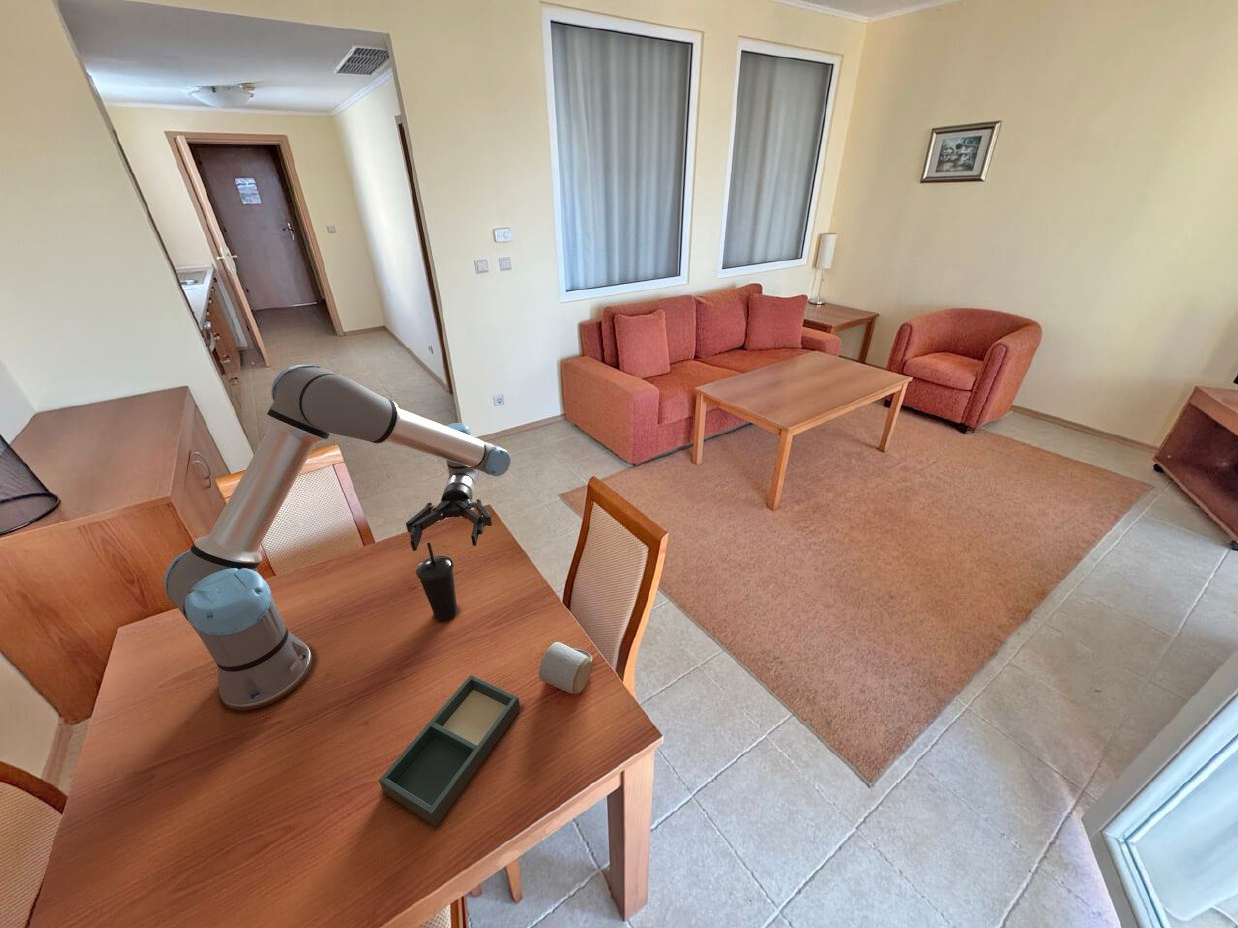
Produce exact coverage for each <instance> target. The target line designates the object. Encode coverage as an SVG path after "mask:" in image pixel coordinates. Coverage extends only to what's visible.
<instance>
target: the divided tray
mask: <svg viewBox="0 0 1238 928" xmlns="http://www.w3.org/2000/svg"><path fill="white" fill-rule="evenodd" d="M520 711H521V706H520V699H519V696H517V695H514V694H512V693H510V692H508V691H507V690H504V689H501V688H499V687H497V686H495V685H493V684H492V683H489V682H487V681H485V680H483V679H481V678H479V677H476V676H474V675H472V674H470V675H469V676H468V677H467V678H466V679H465V681H464V682H463V683H461V685H460V686H459V687H458V688H457V690H456V691H455V692H454V693H453V695H452V696H450V697H449V699H448V700H447V701H446V702H445V703H444V704H443V706H441V708H440V709H439V710H438V711H437V713H436V714H435V715H434V716H433V717H432V718H431V719H430V721H428V723H427V724H426V725H425V726H424V728H423V729H422V730H421V731H420V732H419V733H418V734H417V736H415V738H414V739H413V740H412V741H411V742H410V744H409V745H408V746H407V747H406V748H405V749H404V751H403V752H402V753H401V754H400V755H399V756H398V757H397V758H396V760H395V761H394V762H393V763H392V764H391V765H390V766H389V768H388V769H387V770H386V771H385V772H384V773H383V774H382V776H380V778H379V779H378V782H379V784H380V787H381V789H382V791H383V793H384V794H385V795H387V796H388V797H390V798H391V799H392V800H394V801H396V802H398V803H399V804H400V805H402V806H404V807H405V808H407V809H408V810H409V811H411V812H413V813H414V814H416V815H417V816H419V817H420V818H422V819H423V820H425V821H426V822H428V823H429V824H431V825H433V826H434V827H438V825H439V824H440V822H441V821H442V820H443V818H444V817H445V815H446V814H447V813H448V811H449V810H450V808H451V807H452V805H453V804H454V803H455V801H456V800H457V799H458V797H459V796H460V794H461V793H462V792H463V790H464V789H465V788H466V786H467V785H468V783H469V782H470V781H471V779H472V778H473V777H474V775H475V774H476V772H477V771H478V769H479V768H480V767H481V766H482V765H483V762H484V761H485V759H486V758H487V757H488V755H489V754H490V753H491V752H492V750H493V748H494V747H495V746H496V744H497V743H498V742H499V740H500V739H501V737H502V736H503V735H504V733H505V732H506V731H507V729H508V728H509V726H510V725H511V724H512V722H513V721H514V719H515V718H516V716H517V715H518V713H520Z"/></svg>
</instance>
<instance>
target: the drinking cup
mask: <svg viewBox="0 0 1238 928" xmlns="http://www.w3.org/2000/svg"><path fill="white" fill-rule="evenodd" d="M426 545H427V550H428V554H429V557H428V558H426V559H424V560H422V561H421V562H420V563H419V564H418V565H417V566H416V569H415V575H416V577H417V578H418V579H419V581H420V583H421V586H422V588H423V591H424V594H425V596H426V598H427V600H428V603H429V605H430V608H431V610H432V612H433V615H434V618H435V619H436V620H437V621H438V622H449V621H450V620H452V619H454V618H455V616H457V614H458V607H457V606H458V605H457V596H456V589H455V588H456V586H455V578H454V561H453V559H451V557H448V556H446V555H435V556H434V551H433V547H432V543H431V542H427V543H426Z"/></svg>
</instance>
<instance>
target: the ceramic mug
mask: <svg viewBox="0 0 1238 928" xmlns="http://www.w3.org/2000/svg"><path fill="white" fill-rule="evenodd" d="M592 668H593V656H592V654H591V653H590V652H588V651H587V650H584V649H582V648H581V649H580V648H572V647H571V646H568V645H566V644H564V643H562V642H560V641H555V642H553V643H552V644H551V645H550V646H549V647H548V648H547V650H546V651H545V653H544V655H543V657H542V658H541V661H540V666H539V669H538V670H539V671H538V678H539V680H540V681H541V682H544V683H546V684H548V685H550V686H552V687H555V688H557V689H559V690H562V691H563V692H566V693H568V694H572V695H577V694H579V693H581V692H582V691H583V690H584V689H585V687H586V685H587V684H588V682H589V679H590V676H591V673H592Z"/></svg>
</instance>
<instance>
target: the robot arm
mask: <svg viewBox="0 0 1238 928" xmlns="http://www.w3.org/2000/svg"><path fill="white" fill-rule="evenodd" d="M270 389H271V390H270V391H271V398H272V401H273V402H272V403H271V406H270V407H269V409H268V411H267V412H266V415H265V416H266V419H267V421H268V423H269V427H268V430H266V433H265V435H264V437H263V438H262V440H261V442H260V443H259V445H258V447H257V449H256V450H255V452H254V454H253V456H252V458H251V459H250V461H249V463H248V465H247V467H246V469H245V470H244V472H243V473H242V476H240V477H241V478H239V480H238V482H237V485H236V486H235V488H234V490H233V491H232V493H231V495H230V497H229V498H228V500H227V502H226V504H225V505H224V508H223V509H222V511H221V512H220V515H219V516H218V518H217V520H216V521H215V524H214V525H213V527H212V529H211V531H210V533H208V534H207V535H204V536H202V537H199V538H196V539H195V540H194V542H193V543H192V545H191V547H190V548H188V550H187V551H185V552H181V553H180V554H179V555H177V556H176V557H175V558H174V559H173V560H172V561H171V562H170V563H169V565H168V566H167V569H166V570H165V573H164V576H163V586H164V590H165V592H166V595H167V597H168V599H169V600H170V601H171V604H173V605H174V606H175V607H176V608H177V609H178V610H179V612H180V613H181V614H182V615H183V617H184V618H185V619H186V621H187V622H188V623H189V624H190V626H191V627H192V629H194V631H195V632H196V633H197V635H198V636H199V638H200V639H201V641H202V643H203V644H204V646H205V647H206V649H207V651H208V653H209V654H210V656H211V658H212V660H213V661H214V663H215V664H216V666H217V671H218V678H217V679H218V680H217V681H218V694H219V697H220V698H221V701H222V702H223V703H224V705H225V706H226V707H228V708H229V709H232V710H234V711H240V712H245V711H254V710H258V709H262V708H264V707H265V708H266V707H268V706H270V705H272V704H274V703H276V702H278V701H281V700H282V699H283V698H285V697H286V696H288V695H290V694H291V692H293V691H295V689H297V688H298V687H299V686H300V685H301V684H302V683H303V681H305V680H306V678H307V677H308V674H309V673H310V670H311V668H312V666H313V655H312V652H311V650H310V649H309V646H308V645H307V644H306V643H305V642H303V641H302V640H301V639H300V638H298V637H297V636H296V635H294V634H293V633H292V632H290V631H289V630H288V628H287V626H286V625H287V624H286V623H285V621H284V618H283V617H282V614H281V612H280V610H279V608H278V606H277V604H276V602H275V600H274V598H273V595H272V592H271V588H270V586H269V584H268V583H267V582H266V580H265V579H264V578H263V576H262V575H261V574H260V573H258V572H257V570H258V568H259V566H260V564H261V563H262V560H263V556H262V554H261V552H260V550H259V549H260V547H261V544H262V543H263V541H264V539H265V537H266V536H267V534H268V532H269V530H270V528H271V527H272V525H273V523H274V521H275V519H276V517H277V516H278V513H280V510H281V508H282V506H283V505H284V503H285V500H286V499H287V497H288V495H289V493H290V492H291V490H292V488H293V486H294V484H295V482H296V480H297V479H298V477H299V475H300V473H301V471H302V470H303V468H304V466H305V464H306V462H307V460H308V458H309V457H310V455H311V453H312V451H313V449H314V448H315V446H316V445H317V444H319V443H323V442H327V440H329V439H328V438H329V437H330V435H331V434H333V435H337V436H343V437H348V438H353V439H358V440H361V441H366V442H369V443H373V444H375V445H376V444H377V445H381V444H383V443H385V442H386V443H389V444H393V445H396V446H400V447H403V448H405V449H409V450H413V451H416V452H419V453H421V454H425V455H429V456H432V457H436V458H438V459H441V460H444V461H446V466H447V472H448V478H447V481H446V484H445V487H444V490H443V493H442V496H441V499H440V502H439V503H438V504H433V502H427V503H426V505H425V506H424V507H423V508H422V509H420V511H418V512H417V513H416V514H415V515H413V517H411V518H410V519H409V520H407V521H406V522H405V526H406V530H407V533H409V536H410V546H411V549H412V552H415V551H416V552H417V550H418V547H419V545H420V541H421V539H422V536H423V531H424V530H426V529H428V528H430V527H431V526H433V525H434V524H436V523H438V522H442V521H444V520H446V519H451V518H460V517H461V518H463V519H465V520H468V521H470V522H471V523H473V525H472V526H473V527H472V530H471V535H470V539H471V543H472V546H473V547H475V546H477V543H478V538H479V535H483V534H484V528H485V527H486V526H487V527H491V526H492V525H493V521H492V516H491V514H490V513H489V511H488V510H487V509H486V508H485V507H484V505H483V502H482V499H481V498H477V499H476V500H475V501H474V502H472V501H473V496H474V492H475V489H476V486H477V485H476V484H477V481H478V478H479V475H480V473H479V471H480V472H483V473H485V474H486V475H489V476H492V477H501V476H503V475H504V474H506V473H507V471H509V468H510V466H511V462H512V458H511V455H510V452H509V451H508V450H506V449H504V448H502V447H501V446H499V445H495V444H493V443H490V442H487V441H485V440H482V439H479V438H477V437H475V436H472V435H471V431H470V427H469V426H468V425H467V424H466V423H463V422H453V423H450V424H447V425H443V424H441V423H438V422H435V421H433V420H430V419H427V418H425V417H422V416H420V415H417V414H415V413H413V412H410V411H407V410H404V409H402V408H400V407H398V404H397V403H396V402H395V401H394V400H392V399H389V398H387V397H384V396H382V395H380V394H378V393H376V392H374V391H372V390H370V389H369V388H367V387H366V386H364V385H362V384H360V383H358V382H357V381H355V380H353V379H351V378H349V377H346V376H343V375H342V374H341V375H340V374H338V373H336V372H333V371H331V370H328V369H326V368H323V367H322V366H317V365H310V364H296V365H293V366H289V367H287V368H285V369H284V370H282V371H281V372H280V373H278V374H277V376H276V377H275V378H274V380H273V382H272V385H271V388H270ZM472 509H474V510H475V511H476V512H475V511H474V510H472Z"/></svg>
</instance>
